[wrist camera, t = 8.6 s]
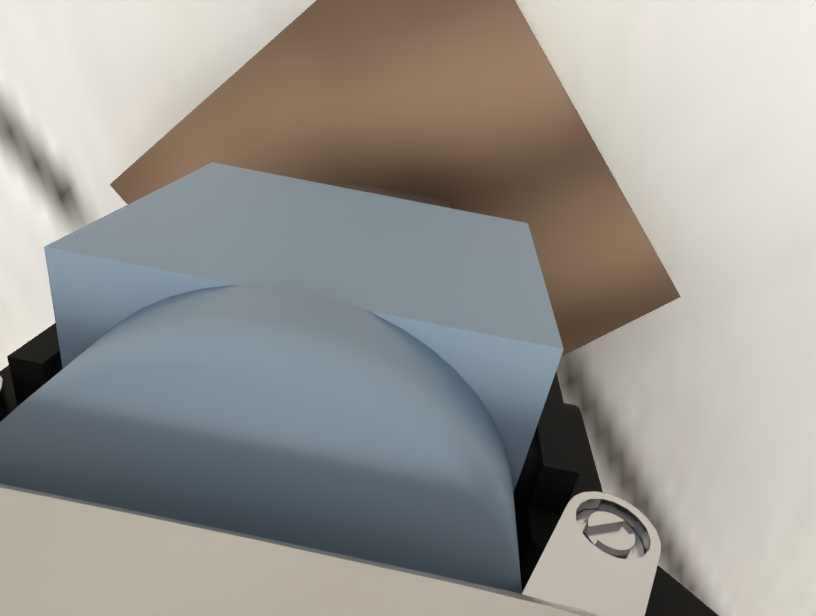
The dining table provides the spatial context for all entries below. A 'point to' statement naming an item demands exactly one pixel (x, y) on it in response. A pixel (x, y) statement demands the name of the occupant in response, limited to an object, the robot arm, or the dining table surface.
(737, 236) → the dining table surface
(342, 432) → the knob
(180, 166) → the board
